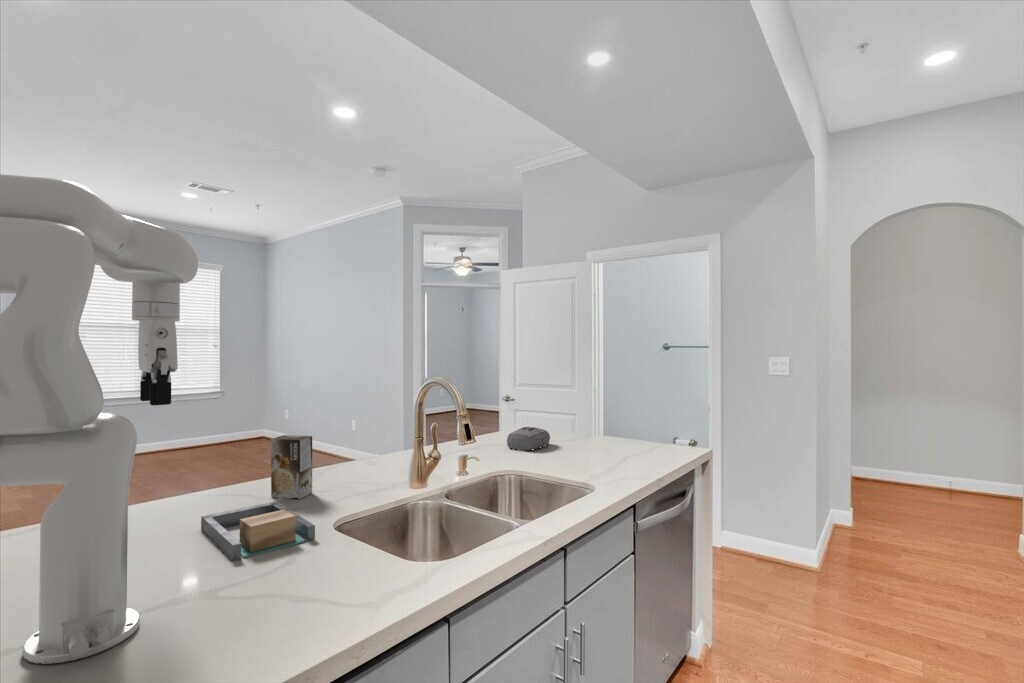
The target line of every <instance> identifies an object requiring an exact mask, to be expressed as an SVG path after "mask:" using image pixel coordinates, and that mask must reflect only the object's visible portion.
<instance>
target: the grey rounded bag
mask: <svg viewBox="0 0 1024 683" xmlns="http://www.w3.org/2000/svg"><path fill="white" fill-rule="evenodd" d="M550 440H551V435H550V432H548V430H546V429H544V428H539V427H535V426H531V427H530V426H525V427H521V428H518V429H516V430H513V431H511V432H510V433H508V435H507V438H506V443H507V444H506V445H507V447H508V448H509V449H510V448H512V449H519V450H532V449H537V448H540V447H543V446H545V445H547V444H548V445H549V444H550ZM548 445H547V446H548ZM545 447H546V446H545ZM543 448H544V447H543ZM512 449H511V450H512ZM532 451H533V450H532Z"/></svg>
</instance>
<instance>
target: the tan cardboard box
mask: <svg viewBox="0 0 1024 683" xmlns="http://www.w3.org/2000/svg"><path fill="white" fill-rule="evenodd" d="M292 540H296V516H295V515H293V514H291V513H289V512H288V511H286V510H280V511H275V512H271V513H266V514H262V515H257V516H253V517H248V518H244V519H240V524H239V541H240V543H241V545H242V546H243V547H245V548H246V549H247V550H249V551H250V552H252V551H255V550H259V549H263V548H267V547H270V546H274V545H278V544H281V543H285V542H289V541H292Z"/></svg>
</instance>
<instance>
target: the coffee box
mask: <svg viewBox="0 0 1024 683" xmlns="http://www.w3.org/2000/svg"><path fill="white" fill-rule="evenodd" d="M270 442H271V443H270V448H271V449H270V450H271V451H270V452H271V453H270V459H271V460H270V464H271V465H270V466H271V467H270V476H271V477H270V487H271V489H270V490H271V491H270V492H271V493H270V497H271V498H273V497H280V498H279V499H292V498H298V499H297V500H302V499H303V497H304V498H305V496H306V497H307V495H308V496H310V495H311V494H310V493H312V494H313V436H312V435H292V434H291V435H290V434H284V435H279V436H276V437H273V438H271V439H270ZM309 494H310V495H309ZM301 498H302V499H301Z"/></svg>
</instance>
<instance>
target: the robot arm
mask: <svg viewBox="0 0 1024 683" xmlns="http://www.w3.org/2000/svg"><path fill="white" fill-rule="evenodd" d="M196 253H197V252H196V250H195V249H194V247H193V246H192V244H191V243H190V242H189V241H188V240H187V239H186V238H185V237H184V236H183V235H181V234H179V233H178V232H175V231H173V230H170V229H167V228H165V227H162V226H159V225H156V224H152V223H149V222H145V221H143V220H140V219H137V218H133V217H131V216H127V215H123V214H122V213H120V212H119V211H118V210H116V209H115V208H114V207H112V206H111V205H110V204H109V203H107V202H106V201H105V200H104V199H103V198H101V197H100V196H99V195H97V194H96V193H95V192H94V191H92V190H91V189H89V188H87V187H86V186H84V185H81V184H80V183H77V182H74V181H69V180H64V179H59V178H53V177H52V178H51V177H49V178H48V177H40V176H25V175H12V174H1V173H0V294H15V296H14V298H13V299H12V300H11V302H10V303H9V305H8V306H7V307H6V308H5V309H4V310H3V311H2V312H1V313H0V487H13V486H15V487H17V486H32V485H34V486H35V485H47V484H50V485H51V484H52V485H57V484H58V485H60V484H61V485H64V487H63V489H62V490H61V492H60V494H58V496H56V498H55V499H54V500H53V501H52V502H51V503H50V504H49V505H48V506H47V508H46V509H45V510H44V512H43V513H42V514H43V515H42V517H41V519H40V527H39V528H40V531H39V534H40V536H39V541H40V542H39V595H38V596H39V603H38V604H39V607H38V609H39V611H38V616H39V618H38V631H36V632H35V633H33V634H32V635H30V636H29V638H28V639H26V641H25V642H24V644H23V646H22V655H23V658H24V659H25V660H26V659H27V660H28V661H27V660H26V661H27V662H29V663H34V664H39V663H41V664H40V665H50V664H51V665H52V664H53V663H54V664H61V663H65V662H67V663H68V662H72V661H75V660H79V659H80V660H81V659H83V658H88V657H91V656H93V655H96V654H98V653H101V652H104V651H106V650H108V649H110V648H113V647H114V646H117V645H118V644H120V643H122V642H123V641H125V640H127V639H128V638H129V637H130V636H132V635H133V634H134V633H135V632H136V631H137V630H138V628H139V626H140V621H141V620H140V613H139V612H138V611H136V610H135V609H133V608H128V606H127V605H128V604H127V602H128V595H127V594H128V536H129V535H128V534H129V532H128V530H129V528H128V525H129V524H128V523H129V522H128V521H129V491H130V483H131V482H130V481H131V475H132V469H133V464H134V460H135V455H136V450H137V443H138V433H137V429H136V427H135V425H134V423H132V421H130V419H128V418H127V417H125V416H121V415H119V414H114V413H109V412H103V408H104V405H105V404H104V403H105V402H104V394H103V390H102V387H101V384H100V382H99V380H98V377H97V375H96V373H95V371H94V368H93V366H92V364H91V362H90V359H89V357H88V355H87V353H86V350H85V348H84V345H83V342H82V339H81V337H80V332H79V330H80V329H79V328H80V324H81V319H82V316H83V313H84V309H85V306H86V304H87V300H88V295H89V292H90V289H91V286H92V281H93V278H94V273H95V267H96V265H97V266H100V268H101V271H102V272H103V273H105V275H106V276H108V277H109V278H110V279H113V280H115V281H119V282H125V283H126V282H127V283H132V286H131V287H132V291H131V292H132V294H131V297H132V299H131V300H132V301H131V320H132V321H138V343H137V344H138V345H137V346H138V349H137V350H138V351H137V352H138V354H137V355H138V356H137V357H138V359H137V360H138V368H139V369H138V370H140V371H141V374H140V376H141V377H140V378H141V379H140V383H139V384H140V387H139V388H140V392H139V395H140V397H139V398H140V399H139V400H140V401H141V402H149V404H150V406H165V405H167V406H168V405H171V404H172V377H171V373H175V372H176V371H177V370H178V368H179V367H178V366H179V365H178V342H177V341H178V340H177V339H178V338H177V328H176V322H181V321H180V320H181V319H180V316H181V315H180V314H181V313H180V312H181V310H180V309H181V305H180V303H181V300H180V299H181V292H180V291H181V284H187V283H189V282H191V281H193V280H194V279H195V277H196V276H197V272H198V270H199V260H198V255H197V254H196ZM54 664H53V665H54Z"/></svg>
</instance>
